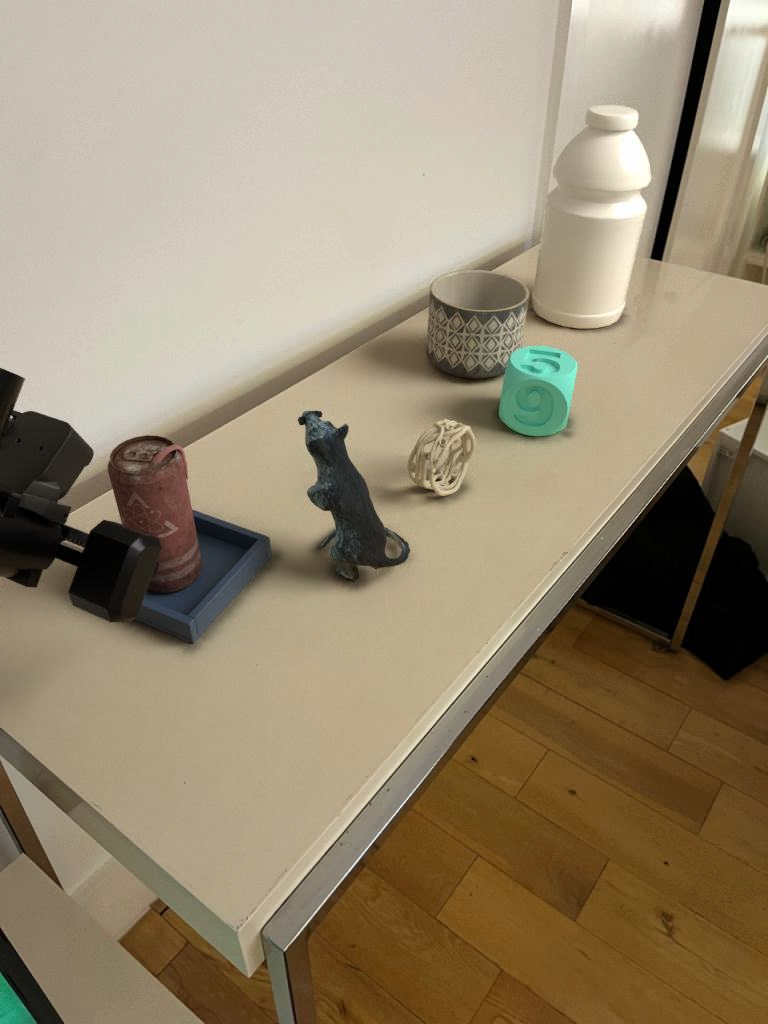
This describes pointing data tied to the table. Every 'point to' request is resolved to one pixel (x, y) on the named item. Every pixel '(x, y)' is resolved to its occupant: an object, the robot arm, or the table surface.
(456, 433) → the bracelet
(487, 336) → the planter
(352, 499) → the sculpture
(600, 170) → the bottle
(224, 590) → the blue tray
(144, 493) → the can
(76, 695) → the table surface
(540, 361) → the decorative dice
